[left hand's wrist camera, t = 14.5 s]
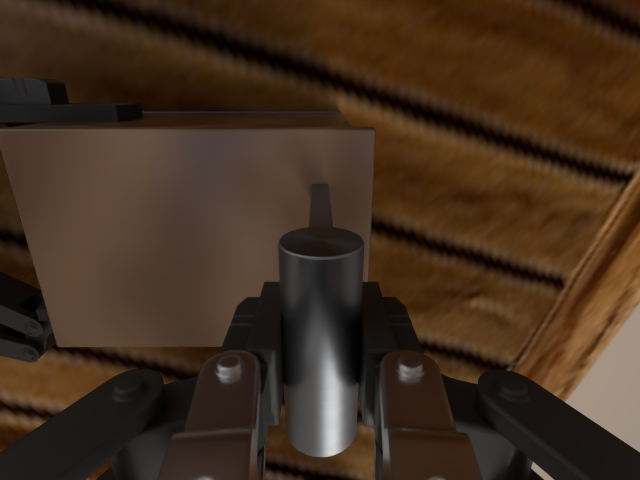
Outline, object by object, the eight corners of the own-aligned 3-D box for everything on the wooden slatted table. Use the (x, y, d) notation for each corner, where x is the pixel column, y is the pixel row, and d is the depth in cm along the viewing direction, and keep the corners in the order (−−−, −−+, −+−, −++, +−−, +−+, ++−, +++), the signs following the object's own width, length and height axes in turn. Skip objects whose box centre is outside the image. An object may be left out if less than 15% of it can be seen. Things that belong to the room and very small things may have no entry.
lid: (373, 126, 16) (428, 166, 8) (363, 334, 20) (394, 508, 12) (11, 126, 16) (-305, 166, 8) (69, 335, 20) (-107, 509, 12)
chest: (340, 111, 26) (352, 126, 16) (337, 251, 30) (346, 335, 20) (130, 111, 26) (12, 126, 16) (153, 251, 30) (69, 335, 20)
